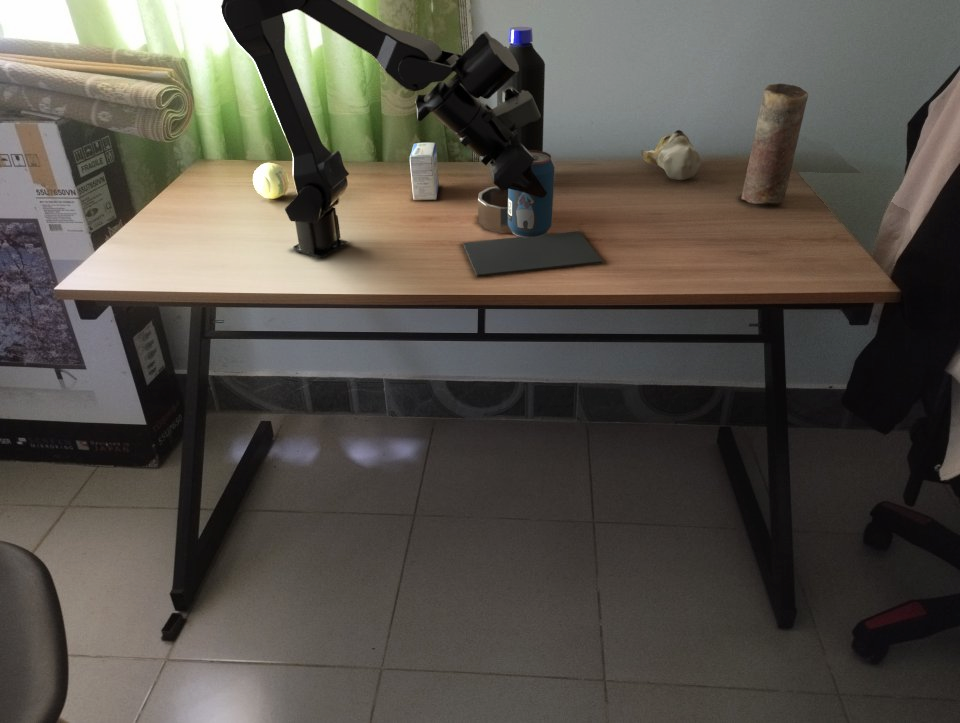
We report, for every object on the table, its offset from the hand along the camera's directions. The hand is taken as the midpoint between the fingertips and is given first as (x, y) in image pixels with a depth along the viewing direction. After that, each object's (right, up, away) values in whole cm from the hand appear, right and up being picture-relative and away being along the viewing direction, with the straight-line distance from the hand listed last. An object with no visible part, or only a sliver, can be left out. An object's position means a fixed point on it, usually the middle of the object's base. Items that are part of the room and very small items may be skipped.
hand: (539, 187), depth 113 cm
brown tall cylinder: (+43, +2, +22) cm, 48 cm away
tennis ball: (-49, +5, +29) cm, 57 cm away
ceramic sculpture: (+30, +11, +37) cm, 49 cm away
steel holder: (-4, -2, +17) cm, 18 cm away
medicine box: (-20, +6, +30) cm, 36 cm away
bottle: (-1, +9, +34) cm, 35 cm away
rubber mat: (-1, -9, +6) cm, 11 cm away
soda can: (-1, -6, +4) cm, 7 cm away
